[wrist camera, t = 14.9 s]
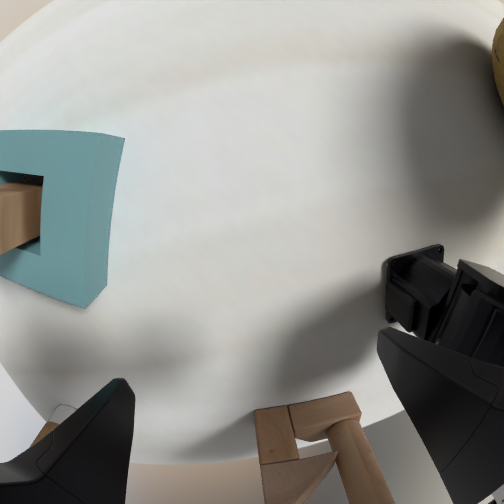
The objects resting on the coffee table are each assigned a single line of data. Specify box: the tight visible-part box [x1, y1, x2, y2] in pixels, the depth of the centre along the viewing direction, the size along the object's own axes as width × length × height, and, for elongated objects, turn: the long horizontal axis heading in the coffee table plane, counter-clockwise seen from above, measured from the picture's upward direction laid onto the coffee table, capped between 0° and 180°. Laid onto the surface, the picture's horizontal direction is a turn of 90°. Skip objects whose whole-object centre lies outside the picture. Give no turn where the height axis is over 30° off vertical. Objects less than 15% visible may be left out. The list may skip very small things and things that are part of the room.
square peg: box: [0, 179, 43, 255], centre depth 12 cm, size 4×4×10 cm
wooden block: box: [254, 392, 395, 504], centre depth 17 cm, size 4×11×18 cm, turn 96°
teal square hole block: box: [0, 130, 125, 309], centre depth 15 cm, size 14×12×4 cm
